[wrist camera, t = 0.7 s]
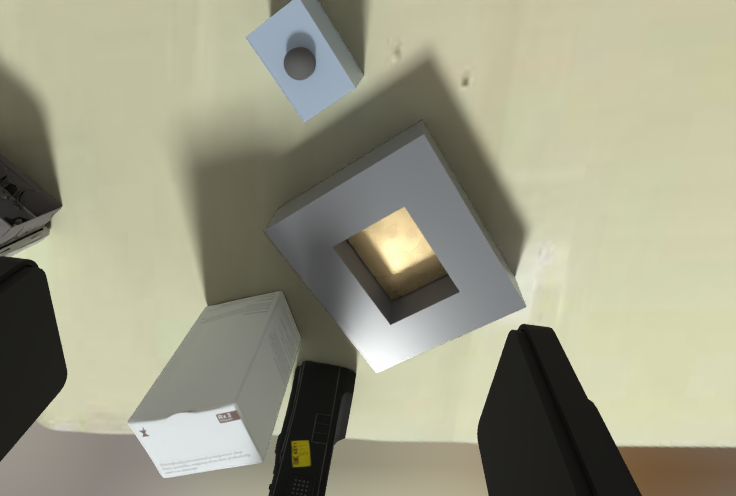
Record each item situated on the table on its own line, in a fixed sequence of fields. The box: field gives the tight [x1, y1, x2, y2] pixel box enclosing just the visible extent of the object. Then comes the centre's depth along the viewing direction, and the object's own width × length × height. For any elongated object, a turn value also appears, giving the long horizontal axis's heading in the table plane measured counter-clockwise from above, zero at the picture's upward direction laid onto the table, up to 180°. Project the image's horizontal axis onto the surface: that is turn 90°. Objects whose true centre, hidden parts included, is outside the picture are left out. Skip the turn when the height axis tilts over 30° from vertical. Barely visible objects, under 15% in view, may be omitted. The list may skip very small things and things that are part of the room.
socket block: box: [263, 120, 526, 373], centre depth 38 cm, size 14×16×4 cm
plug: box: [246, 0, 364, 123], centre depth 31 cm, size 4×6×7 cm, turn 33°
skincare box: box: [127, 291, 301, 478], centre depth 39 cm, size 8×6×15 cm
